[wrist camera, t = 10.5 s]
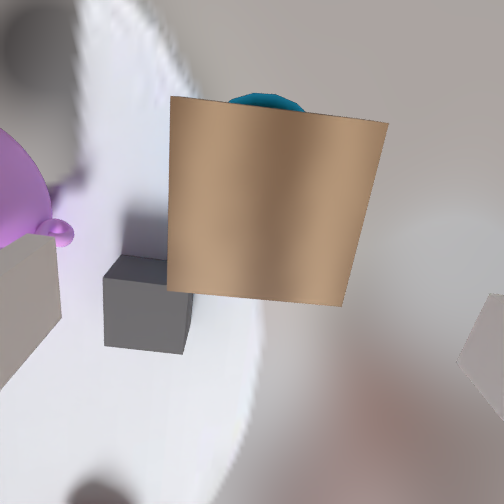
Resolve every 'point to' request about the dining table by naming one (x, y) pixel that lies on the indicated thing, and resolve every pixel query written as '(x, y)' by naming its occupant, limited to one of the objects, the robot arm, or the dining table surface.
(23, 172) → the teapot
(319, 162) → the block
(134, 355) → the dining table surface
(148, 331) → the block
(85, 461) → the dining table surface
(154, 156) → the dining table surface
